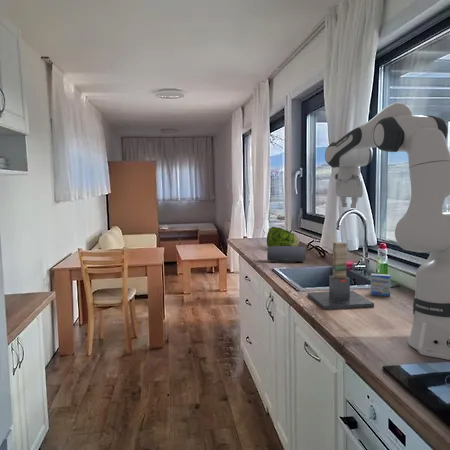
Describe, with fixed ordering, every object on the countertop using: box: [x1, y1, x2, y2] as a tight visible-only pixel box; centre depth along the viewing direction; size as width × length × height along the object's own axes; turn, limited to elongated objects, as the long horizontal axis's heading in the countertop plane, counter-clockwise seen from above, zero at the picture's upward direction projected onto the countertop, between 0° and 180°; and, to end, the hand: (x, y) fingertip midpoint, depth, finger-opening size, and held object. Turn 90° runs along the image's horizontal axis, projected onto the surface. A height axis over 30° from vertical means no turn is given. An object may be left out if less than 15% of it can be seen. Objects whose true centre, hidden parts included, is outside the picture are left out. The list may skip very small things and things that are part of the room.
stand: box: [307, 275, 375, 311], centre depth 173 cm, size 20×20×10 cm
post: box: [332, 241, 348, 279], centre depth 172 cm, size 4×4×16 cm
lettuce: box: [266, 226, 300, 248], centre depth 308 cm, size 17×23×16 cm
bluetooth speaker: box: [266, 245, 307, 264], centre depth 260 cm, size 23×9×10 cm, turn 80°
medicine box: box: [370, 273, 392, 297], centre depth 183 cm, size 8×4×9 cm, turn 70°
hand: (348, 207), depth 183 cm, fingers open, 8 cm apart
